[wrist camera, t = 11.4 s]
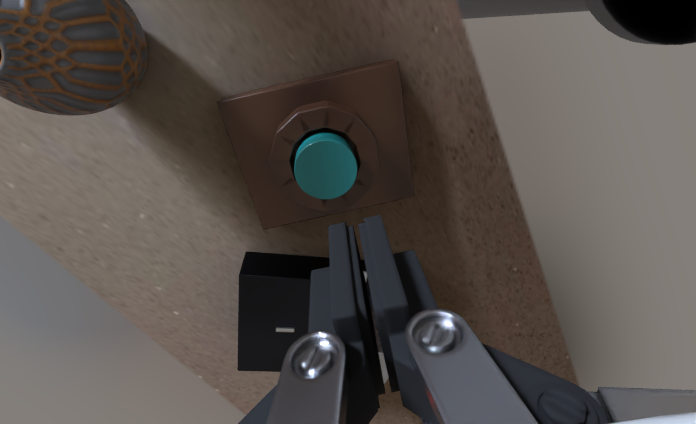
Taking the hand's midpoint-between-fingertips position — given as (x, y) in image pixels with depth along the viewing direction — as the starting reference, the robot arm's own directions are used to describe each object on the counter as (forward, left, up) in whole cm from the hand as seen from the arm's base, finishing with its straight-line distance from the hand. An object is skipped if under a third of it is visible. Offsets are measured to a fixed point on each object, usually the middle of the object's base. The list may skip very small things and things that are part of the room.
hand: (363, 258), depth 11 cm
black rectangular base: (+4, +14, -14) cm, 21 cm away
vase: (+12, -9, -15) cm, 21 cm away
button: (+1, 0, -11) cm, 11 cm away
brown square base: (+1, 0, -14) cm, 14 cm away
